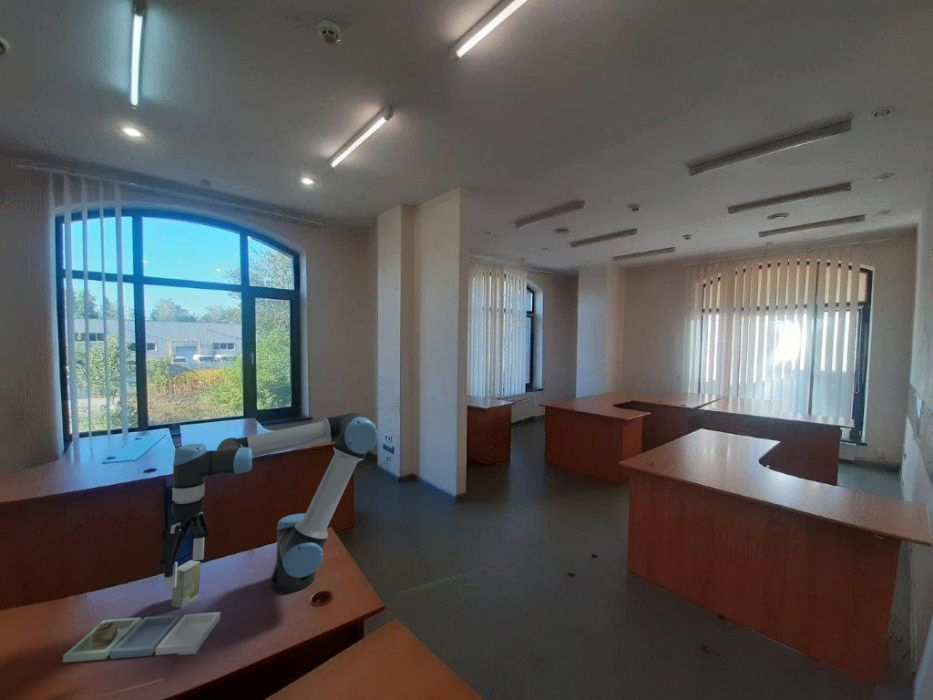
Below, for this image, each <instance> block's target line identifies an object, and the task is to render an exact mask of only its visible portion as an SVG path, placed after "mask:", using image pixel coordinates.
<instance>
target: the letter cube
mask: <svg viewBox="0 0 933 700" xmlns="http://www.w3.org/2000/svg"><path fill="white" fill-rule="evenodd" d="M99 624H100V623H99ZM99 624H98V625H99ZM98 625H97V626H98ZM97 626H96V627H97ZM117 629H118V621H114V622H109V623H104V624H100V625H99V626H98V627H97V629H96V630H95V631H94V633H93V634H92V649H93V648H98V647H102V646H107V645H110V644H111V643H112V642H113V640H114V639H115V637H116V636H117Z"/></svg>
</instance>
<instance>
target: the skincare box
mask: <svg viewBox="0 0 933 700" xmlns="http://www.w3.org/2000/svg"><path fill="white" fill-rule="evenodd" d="M200 575H201V561H200V560H193V559H190V560H188V561H187V562H184V563H182V564H181V565H179V566H177V582H176V587H175V588H171V589H172V591H171V592H172V593H171V607H174V608H180V609H183V608H185V607H186V606H187V605H189V604H191V603H192V602H193V601H196V599H197V598H199V596H200V582H201V581H200V578H201V576H200Z"/></svg>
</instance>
